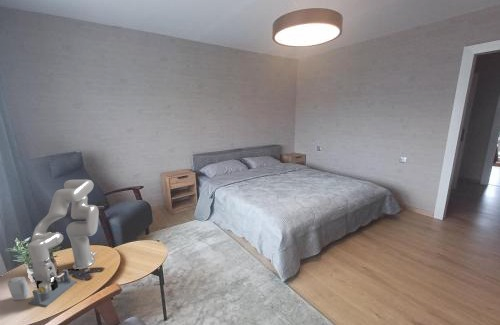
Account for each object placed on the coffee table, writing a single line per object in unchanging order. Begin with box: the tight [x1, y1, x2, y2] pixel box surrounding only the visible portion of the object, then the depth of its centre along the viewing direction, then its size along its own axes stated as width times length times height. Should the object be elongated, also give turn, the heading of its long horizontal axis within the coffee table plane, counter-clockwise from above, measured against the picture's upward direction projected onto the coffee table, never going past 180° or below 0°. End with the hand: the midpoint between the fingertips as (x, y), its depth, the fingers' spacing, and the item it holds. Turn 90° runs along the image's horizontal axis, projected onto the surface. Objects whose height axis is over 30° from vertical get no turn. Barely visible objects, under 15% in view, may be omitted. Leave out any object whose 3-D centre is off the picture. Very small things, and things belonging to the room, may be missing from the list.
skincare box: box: [6, 276, 31, 301], centre depth 126 cm, size 6×4×12 cm
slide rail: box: [27, 269, 78, 307], centre depth 130 cm, size 18×12×8 cm, turn 171°
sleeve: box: [39, 279, 54, 293], centre depth 127 cm, size 5×4×4 cm
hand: (47, 287), depth 127 cm, fingers open, 9 cm apart
